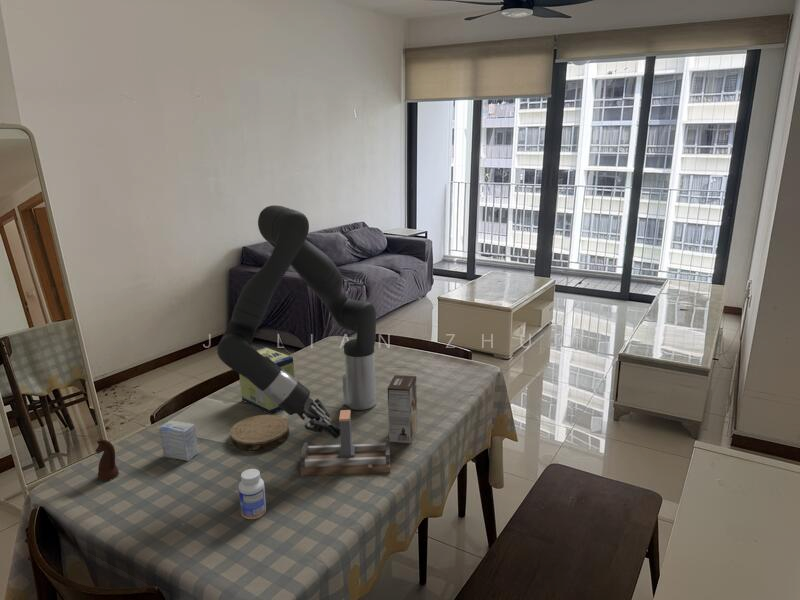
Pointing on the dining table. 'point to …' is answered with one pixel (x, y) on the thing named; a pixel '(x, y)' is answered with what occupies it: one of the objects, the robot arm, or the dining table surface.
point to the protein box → (255, 394)
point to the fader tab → (346, 436)
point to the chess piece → (106, 461)
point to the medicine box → (179, 440)
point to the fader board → (345, 459)
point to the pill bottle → (252, 494)
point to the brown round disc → (259, 433)
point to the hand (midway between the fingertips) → (338, 435)
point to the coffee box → (402, 408)
